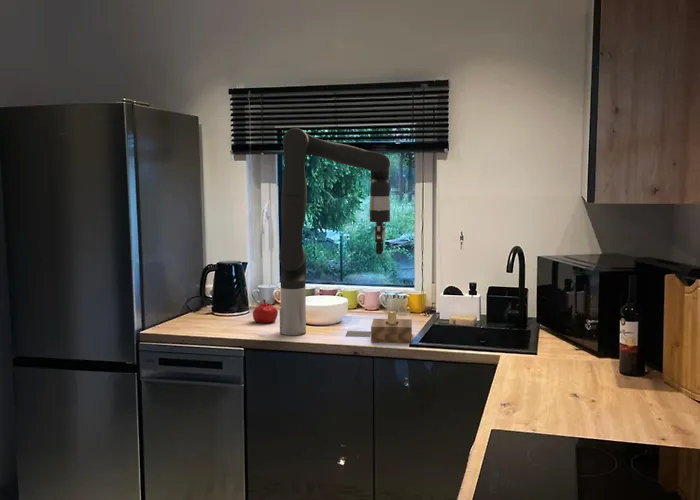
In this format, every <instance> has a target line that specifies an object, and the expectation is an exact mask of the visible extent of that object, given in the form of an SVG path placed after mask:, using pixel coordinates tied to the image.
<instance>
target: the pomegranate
mask: <svg viewBox="0 0 700 500" xmlns="http://www.w3.org/2000/svg"><path fill="white" fill-rule="evenodd" d="M262 301H263V303H262V302H260V303H257V306H256V307H255V308H254V310H253V311H252V318H253V321H254V322H255V323H259V324H270V323H275V321H276V320H277V318H278V311H279V310H278V309H277V308H276V306H274V304H275V303H273V302H272V304H271V302H269V303H268V302H266V299H265V298H264V299H262Z"/></svg>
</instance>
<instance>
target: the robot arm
mask: <svg viewBox="0 0 700 500" xmlns="http://www.w3.org/2000/svg"><path fill="white" fill-rule="evenodd" d="M282 146H283V147H282V149H283V158H284V159H283V160H284V161H283V162H284V166H283V167H284V170H283V176H282V186H281V204H280V205H281V225H282V226H281V227H282V230H281V231H282V233H281V242H280V243H281V244H280V250H279V256H278V258H279V259H278V260H279V262H280V265H281V266H280V267H281V273H280V274H281V275H280V308H279V335H285V336H300V335H304V334H306V333H307V319H306V318H307V317H306V314H307V313H306V312H307V311H306V309H307V307H306V306H307V305H306V298H307V297H306V293H307V292H306V282H307V281H306V280H307V254H306V251H305V249H304V245H303V230H304V226H305V220H306V216H307V215H306V214H307V205H308V188H307V186H308V185H307V177H306V168H305V167H306V156H313V157H318V158H322V159H326V160H329V161H333V162H336V163H338V164H342V165H344V166H348V167H353V168H359V169H364V170H367V171H370V187H369V189H370V190H369V191H370V193H369V196H370V197H369V199H370V200H369V222H371V223H376V225H375V226H374V227H373V231H374V239H375V240H374V241H375V242H374V243H375V254H376V255H382V254H383V252H384V242H385V237H386V226H385V224H384V223H389V222H390V221H391V200H390V182H389V179H390V174H389V173H390V166H391V161H390V158H389V157H388V156H387V155H386V154H383V153H380V152H376V151H370V150H366V149H363V148H359V147H356V146H352V145H349V144H343V143H340V142H339V143H338V142H333V141H332V142H331V141H327V140H323V139H320V138H317V137H314V136H312V135H311V134H308V133H306V132H305V131H304V130H303V129H300V128H298V127H294V128H290V129H288V130H287V131H286V132H285V133H284V135H283V139H282Z"/></svg>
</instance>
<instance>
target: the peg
mask: <svg viewBox="0 0 700 500" xmlns="http://www.w3.org/2000/svg"><path fill="white" fill-rule="evenodd" d="M387 319H388V324H396V319H397V311H395V310H394V311H393V310H389V311H387Z"/></svg>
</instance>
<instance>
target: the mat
mask: <svg viewBox="0 0 700 500" xmlns="http://www.w3.org/2000/svg"><path fill="white" fill-rule="evenodd" d="M346 331H347V332H346V333H345V335H344V337H347V338H348V337H352V338H353V337H355V338H357V337H358V338H359V337H360V338H371V330H369V331H367V330H365V331H364V330H363V331H361V330H353V331H352V330H346Z"/></svg>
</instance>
